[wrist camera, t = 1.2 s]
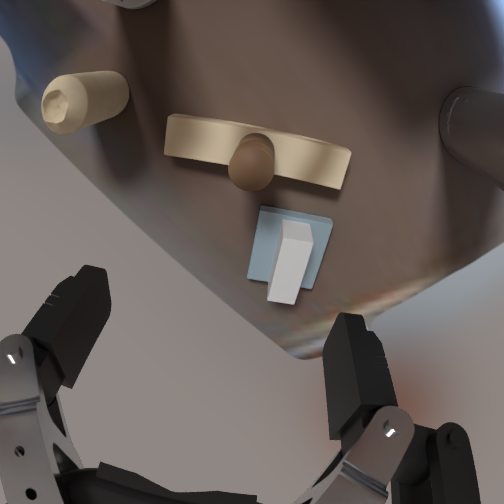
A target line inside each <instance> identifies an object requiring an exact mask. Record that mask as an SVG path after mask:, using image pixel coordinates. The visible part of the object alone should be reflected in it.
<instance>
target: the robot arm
mask: <svg viewBox="0 0 504 504" xmlns="http://www.w3.org/2000/svg"><path fill="white" fill-rule="evenodd" d="M439 128H440V134H441V138H442V141H443V144H444V145H445V147H446V149H447V151H448V152H449V153H450V154H451V155H452V156H453V157H454V158H455V159H457V160H458V161H460V162H461V163H463V164H465V165H466V166H468V167H469V168H471V169H472V170H474V171H475V172H477V173H478V174H480V175H481V176H483V177H484V178H486V179H487V180H489V181H490V182H491V183H493V184H494V185H496V186H497V187H499V188H500V189H501V190H503V191H504V94H501V93H497V92H493V91H489V90H484V89H479V88H474V87H462V88H458V89H457V90H455V91H453V92H452V93H451V94H450V95H449V96H448V97H447V99H446V100H445V102H444V104H443V106H442V109H441V113H440V119H439ZM110 312H111V297H110V291H109V284H108V277H107V272H106V270H105V269H103V268H98V267H94V266H90V265H84V266H83V267H82V268H81V269H80V271H79V272H78V273H77V274H76V276H75V277H73V276H69V277H68V278H66V279H65V280H63V281H62V282H60V283H59V284H58V285H57V286H56V288H55V289H54V290H53V292H52V293H51V296H49V297H48V298H47V299H46V301H45V304H43V305H42V306H41V307H40V309H39V310H38V311H37V313H36V314H35V315H34V317H33V318H32V320H31V321H30V322H29V324H28V325H27V327H26V328H25V329H24V331H23V332H22V333H21V334H13V335H9V336H7V337H5V338H4V339H3V340H1V342H0V477H1V481H2V485H3V489H4V493H5V496H6V500H7V503H6V504H261V503H258V502H257V495H247V494H237V493H228V492H221V491H209V492H182V493H181V492H180V493H179V492H172V491H170V490H168V489H166V488H163V487H161V486H160V485H158V484H155V483H154V482H152V481H150V480H148V479H146V478H144V477H142V476H140V475H138V474H137V473H134V472H130V471H127V470H124V469H121V468H118V467H115V466H112V465H109V464H105V463H103V462H100V464H99V467H98V468H84V467H83V464H82V462H81V459H80V457H79V455H78V453H77V451H76V449H75V448H74V446H73V443H72V441H71V438H70V435H69V432H68V428H67V425H66V421H65V418H64V414H63V410H62V406H61V402H60V398H59V394H58V390H59V388H60V386H61V385H63V386H66V387H68V388H71V389H72V388H73V386H74V384H75V381H76V379H77V377H78V375H79V373H80V371H81V369H82V367H83V365H84V363H85V361H86V359H87V357H88V356H89V353H90V352H91V349H92V348H93V346H94V344H95V342H96V340H97V338H98V337H99V335H100V333H101V331H102V329H103V327H104V325H105V324H106V322H107V320H108V318H109V316H110ZM323 366H324V377H325V386H326V398H327V409H328V423H329V435H330V440H341V447H342V448H341V449H340V450H339V451H338V452H337V453H336V455H335V456H334V458H333V459H332V460H331V461H330V462H329V464H328V465H327V466H326V468H325V469H324V470H323V471H322V473H321V474H320V475H319V476H318V478H317V479H316V480H315V481H314V482H313V484H312V485H311V486H310V487H309V488H308V489H307V490H306V491H305V492H304V493H303V494H302V495H301V496H300V497H299V498H298V499H297V500H296V501H295V502H294V503H293V504H385V502H386V500H387V498H388V492H387V491H386V487H387V485H388V483H389V481H391V493H392V504H481V502H480V494H479V488H478V481H477V476H476V470H475V465H474V460H473V455H472V450H471V446H470V442H469V438H468V435H467V433H466V431H465V430H464V429H463V428H462V427H461V426H460V425H458V424H456V423H453V422H449V423H445V424H443V425H442V426H441V427H439V428H438V429H437V430H435V429H431V428H427V427H424V426H420V425H417V424H414V423H413V420H412V418H411V417H410V415H409V414H408V413H407V412H406V411H404V410H403V409H401V408H399V407H398V404H397V399H396V395H395V391H394V387H393V383H392V380H391V375H390V372H389V368H387V367H388V364H387V360H386V358H385V353H384V350H383V346H382V343H381V341H380V340H379V339H378V337H377V336H376V335H375V333H374V332H373V331H367V329H366V325H365V322H364V318H363V316H362V315H358V314H351V313H343V312H341V313H339V314H338V316H337V318H336V320H335V323H334V325H333V327H332V329H331V331H330V333H329V335H328V337H327V340H326V342H325V344H324V348H323ZM431 484H432V485H431ZM432 493H433V494H432Z"/></svg>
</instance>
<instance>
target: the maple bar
mask: <svg viewBox="0 0 504 504" xmlns="http://www.w3.org/2000/svg"><path fill="white" fill-rule="evenodd" d="M164 155H169V156H176V157H182V158H189V159H195V160H201V161H207V162H213V163H219V164H224V165H228V173H229V177H230V179H231V181H232V182H233V183H234V184H235V185H236V186H237V187H238V188H240V189H242V190H245V191H258V190H261V189H263V188H265V187H266V186H267V185H268V184H269V183H270V182H271V180H272V178H273V175H274V174H275V175H280V176H285V177H289V178H294V179H298V180H302V181H307V182H311V183H315V184H319V185H324V186H328V187H332V188H336V189H341V186H342V183H343V179H344V176H345V173H346V170H347V166H348V163H349V160H350V156H351V152H350V151H349V150H348V148H346V147H343V146H339V145H336V144H332V143H328V142H324V141H320V140H317V139H313V138H309V137H304V136H300V135H296V134H292V133H287V132H283V131H278V130H273V129H269V128H264V127H259V126H253V125H248V124H243V123H237V122H231V121H225V120H219V119H213V118H206V117H199V116H191V115H184V114H172V115H170V116H168V120H167V129H166V138H165V147H164Z"/></svg>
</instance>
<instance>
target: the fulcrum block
mask: <svg viewBox="0 0 504 504" xmlns="http://www.w3.org/2000/svg"><path fill="white" fill-rule="evenodd" d="M332 227H333V223H332V220H331V218H326V217H321V216H316V215H311V214H306V213H301V212H296V211H291V210H285V209H280V208H275V207H269V206H264V205H261V207H260V212H259V217H258V222H257V227H256V233H255V238H254V243H253V248H252V253H251V259H250V264H249V269H248V275H247V278H248V279H254V280H260V281H266V282H268V298H267V300H268V301H274V302H280V303H286V304H293V305H294V303H295V300H296V297H297V294H298V291H299V288H300V287H302V288H308V289H312V287H313V284H314V281H315V278H316V275H317V272H318V269H319V266H320V263H321V260H322V257H323V254H324V251H325V248H326V245H327V242H328V239H329V236H330V233H331V230H332Z"/></svg>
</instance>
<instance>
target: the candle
mask: <svg viewBox="0 0 504 504" xmlns="http://www.w3.org/2000/svg"><path fill="white" fill-rule="evenodd" d="M128 99H129V86H128V83H127V81H126V79H125V78H124V77H123V76H122V75H121V74H119V73H117V72H114V71H98V72H87V73H78V74H69V75H63V76H59V77H57V78H55V79H54V80H53V81H52V82H51V83H50V84H49V85H48V87H47V88H46V90H45V92H44V95H43V98H42V115H43V119H44V121H45V123H46V125H47V126H48V127H49V129H50V130H52V131H53V132H55V133H57V134H60V135H67V134H71V133H73V132H76V131H78V130H81V129H83V128H86V127H88V126H91V125H93V124H96V123H99V122H101V121H104V120H107V119H109V118H112V117H114V116H116V115H118V114H119V113H120V112H121V111H122V110H123V109H124V108H125V106H126V105H127V102H128Z"/></svg>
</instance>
